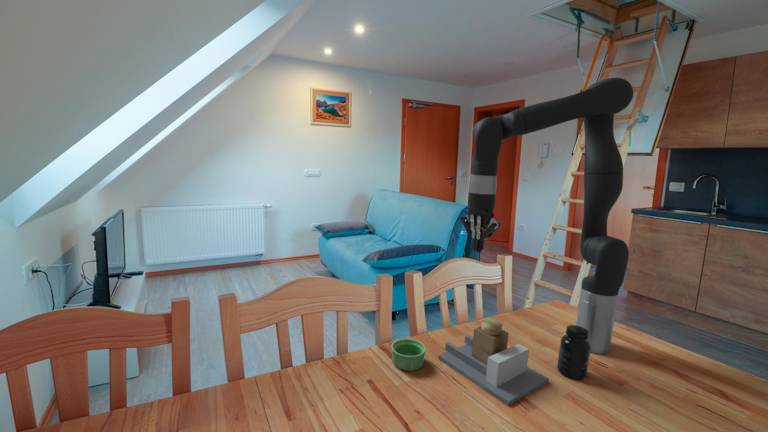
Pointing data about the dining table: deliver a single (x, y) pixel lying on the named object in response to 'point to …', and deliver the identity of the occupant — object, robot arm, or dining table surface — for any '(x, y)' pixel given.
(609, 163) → the robot arm
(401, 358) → the ramekin
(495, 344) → the brown bottle-shaped block
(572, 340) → the supplement bottle
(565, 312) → the dining table surface
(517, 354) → the mount
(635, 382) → the dining table surface
